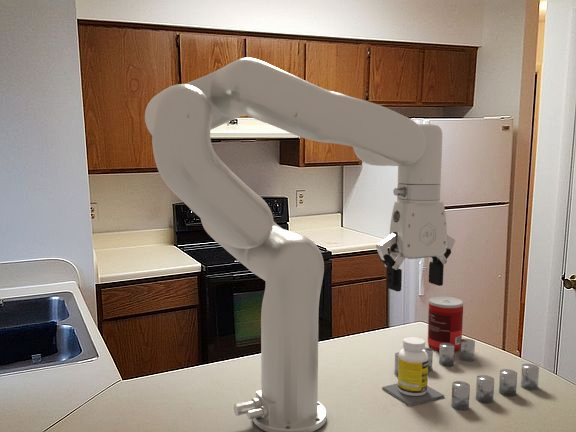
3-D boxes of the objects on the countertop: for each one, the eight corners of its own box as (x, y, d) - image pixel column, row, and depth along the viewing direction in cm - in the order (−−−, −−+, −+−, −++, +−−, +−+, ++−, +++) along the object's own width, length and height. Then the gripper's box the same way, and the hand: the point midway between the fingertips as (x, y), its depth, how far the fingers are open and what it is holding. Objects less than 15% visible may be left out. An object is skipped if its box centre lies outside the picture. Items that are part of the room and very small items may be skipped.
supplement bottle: (425, 399, 97) (427, 346, 96) (395, 394, 99) (396, 343, 98) (428, 387, 102) (430, 337, 101) (399, 383, 104) (401, 334, 103)
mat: (410, 406, 95) (410, 404, 95) (382, 388, 102) (382, 386, 102) (444, 397, 99) (444, 395, 99) (415, 380, 106) (415, 379, 106)
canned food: (457, 341, 129) (459, 296, 128) (465, 353, 121) (467, 305, 120) (424, 340, 130) (426, 295, 128) (430, 352, 122) (431, 304, 121)
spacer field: (460, 411, 94) (461, 389, 93) (391, 372, 110) (391, 353, 110) (541, 387, 103) (542, 367, 103) (466, 355, 120) (467, 337, 119)
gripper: (393, 196, 89) (390, 297, 91) (469, 194, 97) (465, 286, 99) (366, 193, 96) (364, 287, 98) (440, 191, 104) (437, 278, 106)
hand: (415, 286), depth 99 cm, fingers open, 9 cm apart
